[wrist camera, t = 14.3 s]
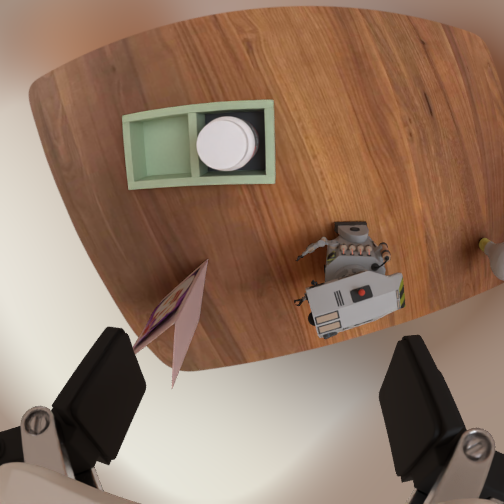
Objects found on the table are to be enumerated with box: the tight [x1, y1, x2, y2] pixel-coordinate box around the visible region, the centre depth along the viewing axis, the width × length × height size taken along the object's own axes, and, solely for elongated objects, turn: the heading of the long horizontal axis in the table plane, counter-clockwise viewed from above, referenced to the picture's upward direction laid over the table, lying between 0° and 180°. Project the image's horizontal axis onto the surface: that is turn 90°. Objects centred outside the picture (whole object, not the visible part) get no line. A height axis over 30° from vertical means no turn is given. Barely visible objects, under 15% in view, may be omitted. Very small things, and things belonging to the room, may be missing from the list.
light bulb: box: [479, 238, 504, 280], centre depth 32 cm, size 6×5×10 cm
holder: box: [122, 100, 276, 190], centre depth 33 cm, size 10×18×5 cm, turn 92°
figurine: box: [294, 222, 405, 339], centre depth 33 cm, size 9×12×15 cm
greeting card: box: [133, 259, 208, 388], centre depth 38 cm, size 11×7×15 cm, turn 133°
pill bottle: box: [196, 116, 259, 171], centre depth 30 cm, size 6×6×10 cm
